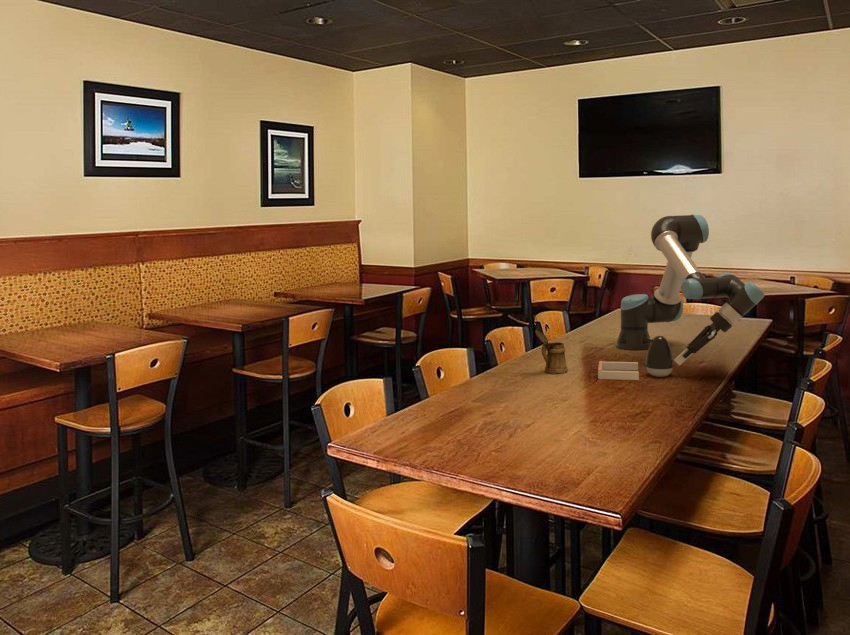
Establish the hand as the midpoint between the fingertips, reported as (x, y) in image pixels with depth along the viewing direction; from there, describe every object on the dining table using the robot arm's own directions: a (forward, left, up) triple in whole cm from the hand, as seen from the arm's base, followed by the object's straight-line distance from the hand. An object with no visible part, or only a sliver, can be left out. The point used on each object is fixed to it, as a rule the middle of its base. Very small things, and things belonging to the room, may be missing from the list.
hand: (676, 362), depth 268 cm
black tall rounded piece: (-1, -6, -5) cm, 8 cm away
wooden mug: (-2, -47, -6) cm, 47 cm away
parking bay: (-1, -21, -5) cm, 21 cm away
